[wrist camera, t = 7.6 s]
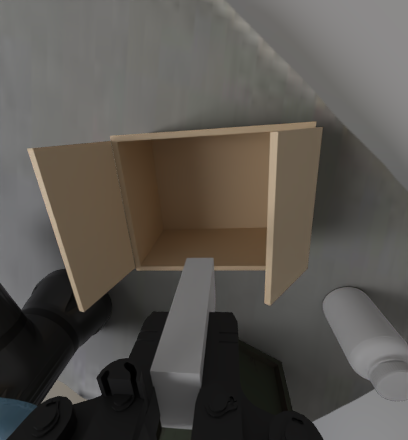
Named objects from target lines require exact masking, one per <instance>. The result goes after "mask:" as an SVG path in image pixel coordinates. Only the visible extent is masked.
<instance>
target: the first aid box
mask: <svg viewBox="0 0 408 440" xmlns="http://www.w3.org/2000/svg"><path fill="white" fill-rule="evenodd" d="M238 346H239V370H240V384H241V388H242V390H243V393H244V394H245V396H246V397H247V399H248V400H249V401H250V402H251V403H252V404H253V405H255V406H256V407H258V408H260V409H262V410H264V411H266V412H269V413H271V414H273V415H276V414H279V413H281V412H283V411H293V410H292V406H291V401H290V397H289V393H288V388H287V384H286V380H285V375H284V371H283V367H282V362H280V361H278V360H276V359H274V358H272V357H271V356H269V355H267V354H265V353H263V352H261V351H259V350H257V349H255V348H253V347H252V346H250V345H248V344H246V343H244V342H242V341H240V340H238ZM191 434H192V430H191V429H178V428H166V427H162V426H161V421H160V420H159V424H158V428H157V433H156V437H157V440H191Z"/></svg>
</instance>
